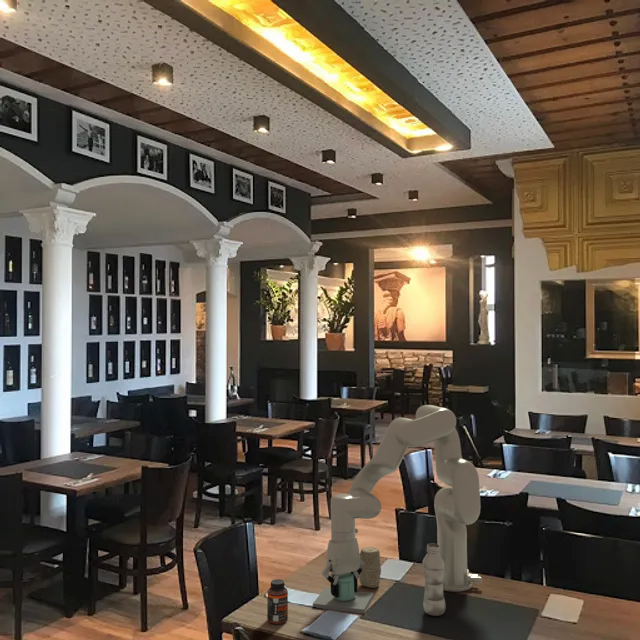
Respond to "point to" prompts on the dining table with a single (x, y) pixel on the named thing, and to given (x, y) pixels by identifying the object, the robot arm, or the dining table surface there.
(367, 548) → the carving
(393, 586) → the dining table surface
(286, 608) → the supplement bottle
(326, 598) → the grey square board
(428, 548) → the plastic bottle
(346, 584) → the cap
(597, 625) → the dining table surface
